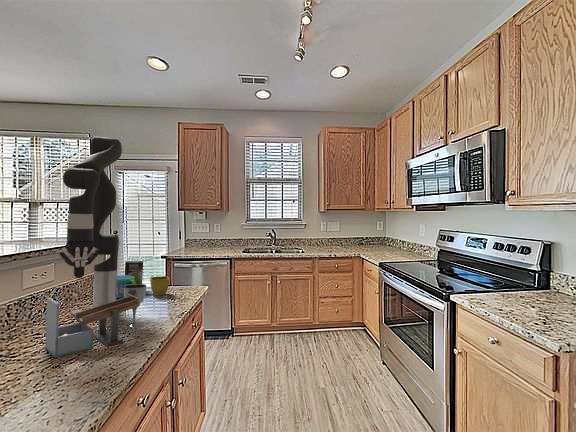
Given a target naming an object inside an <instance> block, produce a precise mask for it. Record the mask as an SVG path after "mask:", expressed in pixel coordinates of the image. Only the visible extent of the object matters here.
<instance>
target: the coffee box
mask: <svg viewBox="0 0 576 432" xmlns="http://www.w3.org/2000/svg"><path fill="white" fill-rule="evenodd" d="M143 273H144V261H143V260H137V261H136V260H131V261H130V260H126V261H125V262H124V275H127V276H134V280H135V282H136V284H143Z"/></svg>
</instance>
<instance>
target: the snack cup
mask: <svg viewBox="0 0 576 432" xmlns="http://www.w3.org/2000/svg"><path fill="white" fill-rule="evenodd" d="M129 284H136V282H135V280H134V276H127V275H125V274H124V275H117V297H116V299H122V298H124V286H125V285H129Z"/></svg>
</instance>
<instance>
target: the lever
mask: <svg viewBox="0 0 576 432" xmlns="http://www.w3.org/2000/svg"><path fill="white" fill-rule="evenodd" d="M140 305H141V304H139V298H137V297H135V296H132V295H128V297H125V298H121V299H120V298H118V299H116V301H113V302H109V303H106V304H103V305H100V306H97V307H93V306H92V307H90V308H88V309H84V310H82V309H81V308H77V309H74V310H72V311H70V312H69V314H70V316H72V317H74V318H75V320H76V322H78V323H81V324H83V325H89V324H91V323H95V322H99V320H101V319H104V318H106V319H107V318H111V311H112V310H117V309H118V310H119V314H121V313H123V312H127V311H130V310H132V309H133V308H136V307H138V308H139V307H140Z"/></svg>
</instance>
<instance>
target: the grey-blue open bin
mask: <svg viewBox="0 0 576 432" xmlns="http://www.w3.org/2000/svg"><path fill="white" fill-rule="evenodd" d="M45 319H46V320H45V321H46V322H45V345H44V346H45V347H44V349H45V350H46V351H47V352H48V353H49V354H50V355H51V356H52V357H53V358H54V359H58V358H61V357H67V356H70V355H75V354H79V353H82V352H86V351H89V350H93V349H94V337H93V333H94V329H93V328H92V327H90V326H88V324H86V325H83V324H81V323H80V322H78V323H71V324H67V325H61V326H59V320H60V303H59V302H58V301H56V300H54V299H52V298H51V297H46V318H45ZM64 334H69V335H65V336H62V335H64Z"/></svg>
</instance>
